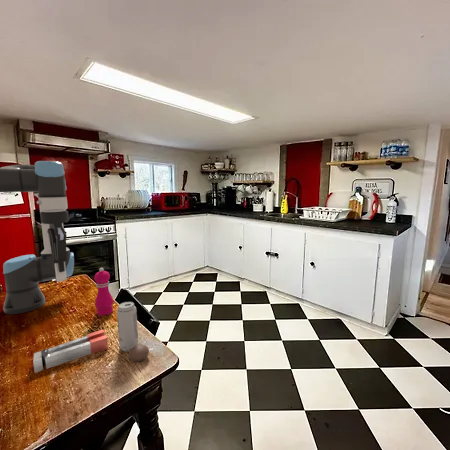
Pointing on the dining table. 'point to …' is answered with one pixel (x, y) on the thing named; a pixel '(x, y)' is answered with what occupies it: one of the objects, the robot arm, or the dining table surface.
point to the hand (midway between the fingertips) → (61, 280)
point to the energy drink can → (127, 326)
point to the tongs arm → (77, 341)
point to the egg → (138, 353)
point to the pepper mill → (103, 293)
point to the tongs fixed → (68, 353)
